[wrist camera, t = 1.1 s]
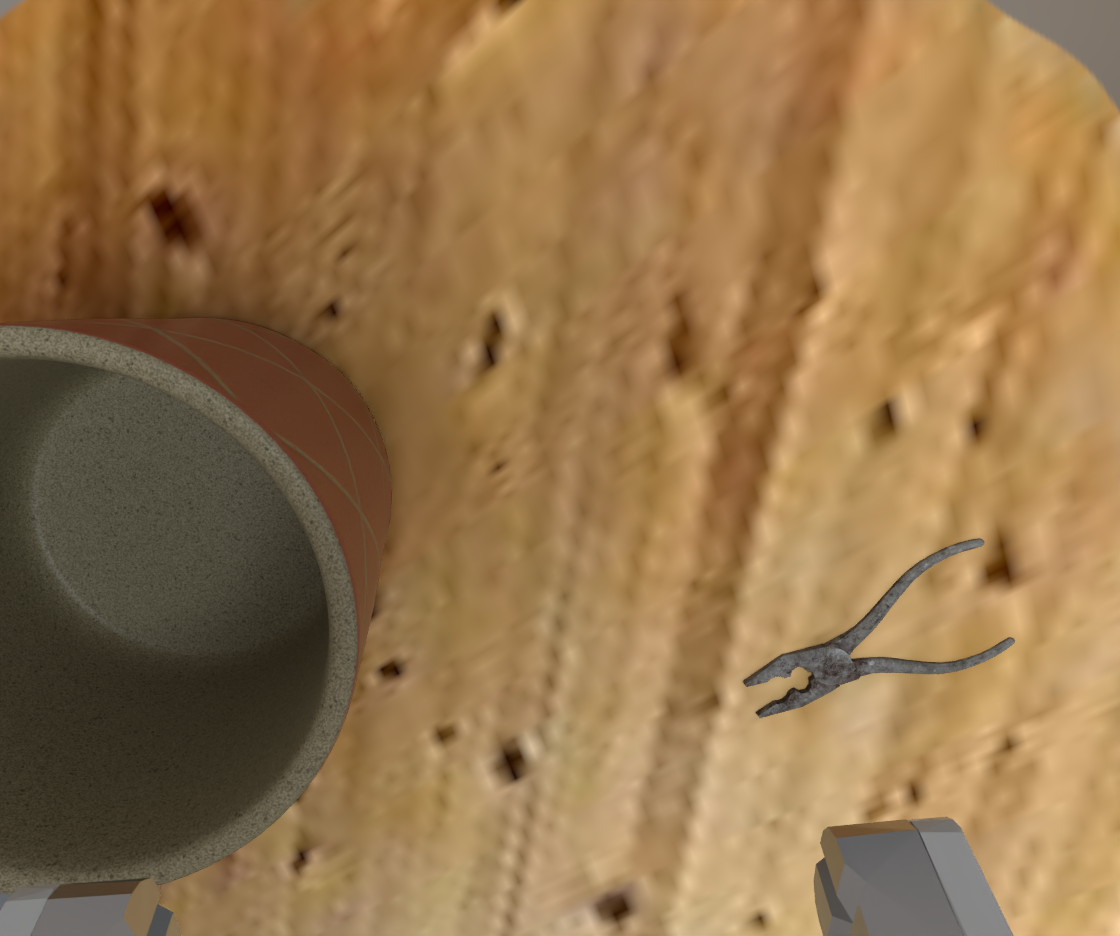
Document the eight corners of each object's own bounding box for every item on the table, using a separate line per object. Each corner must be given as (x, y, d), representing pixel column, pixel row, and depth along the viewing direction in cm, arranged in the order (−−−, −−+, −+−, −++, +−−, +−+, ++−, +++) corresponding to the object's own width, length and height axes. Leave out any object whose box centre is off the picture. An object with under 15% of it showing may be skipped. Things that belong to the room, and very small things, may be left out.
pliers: (1037, 631, 61) (805, 784, 62) (1030, 626, 62) (801, 777, 63) (977, 527, 59) (737, 687, 60) (970, 523, 60) (734, 681, 61)
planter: (58, 651, 56) (-234, 913, 33) (19, 296, 51) (-359, 316, 28) (411, 646, 58) (365, 890, 35) (407, 305, 53) (350, 331, 30)
